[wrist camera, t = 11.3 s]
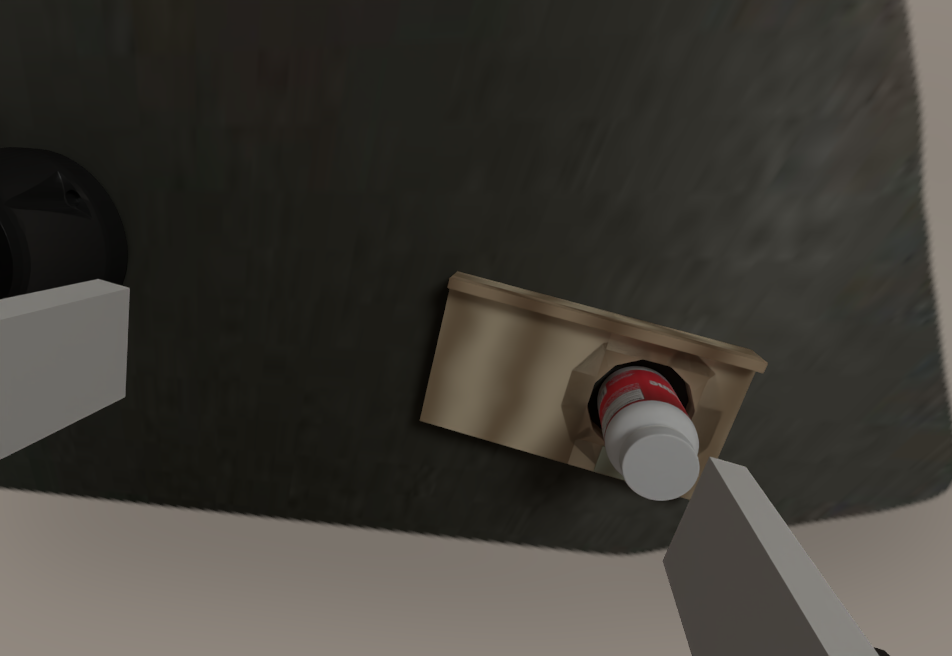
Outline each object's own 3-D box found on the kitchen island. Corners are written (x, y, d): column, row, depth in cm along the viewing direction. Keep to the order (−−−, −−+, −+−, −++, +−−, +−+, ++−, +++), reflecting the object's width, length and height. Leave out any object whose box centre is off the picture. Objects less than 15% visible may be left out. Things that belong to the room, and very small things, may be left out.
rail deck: (425, 410, 45) (415, 426, 42) (457, 271, 41) (449, 277, 38) (692, 488, 43) (702, 511, 40) (751, 349, 39) (767, 363, 36)
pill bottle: (686, 411, 42) (731, 487, 31) (619, 443, 43) (640, 526, 33) (649, 349, 41) (682, 406, 30) (582, 385, 42) (591, 450, 32)
